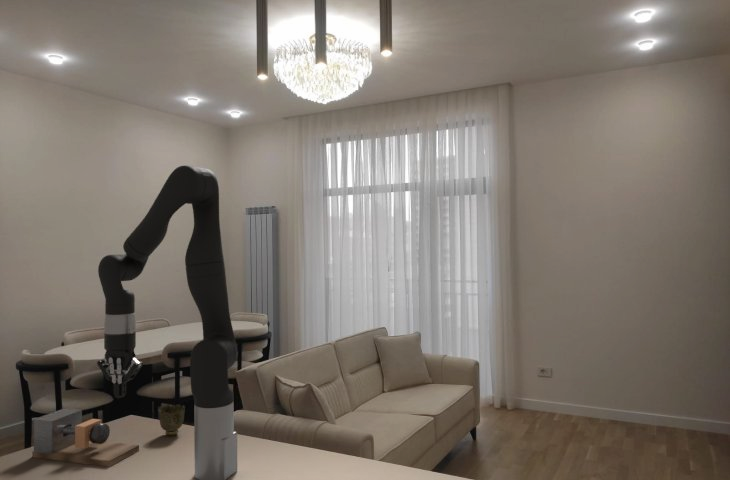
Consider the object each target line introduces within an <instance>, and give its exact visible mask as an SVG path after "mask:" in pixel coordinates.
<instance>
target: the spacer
mask: <svg viewBox="0 0 730 480" xmlns="http://www.w3.org/2000/svg"><path fill="white" fill-rule="evenodd" d="M98 423H100V424H103V422H102V419H98V418H91V419H88V420H86V421H84V422H82V423H81V424H79V425H76V426H75V447H76V448H87V447H89V441H90V438H89V431H90V430H91V429H92V427H93V426H94V425H95V424H98Z"/></svg>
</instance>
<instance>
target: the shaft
mask: <svg viewBox="0 0 730 480" xmlns="http://www.w3.org/2000/svg"><path fill="white" fill-rule="evenodd" d="M110 429H111V428H110V426H109V425H108V424H107V423H102V424H100V423H98V424H95V425H94V426H93V427H92V429H91V430H90V431H89V438H90V441H91V442H92V443H96V444H103V443H104V442H105V441H106V442H107V440H108V439H109V436H110V433H111V432H110V431H111V430H110ZM63 433H64V434H70V435H75V427H71V426H66V427H64V429H63Z"/></svg>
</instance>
